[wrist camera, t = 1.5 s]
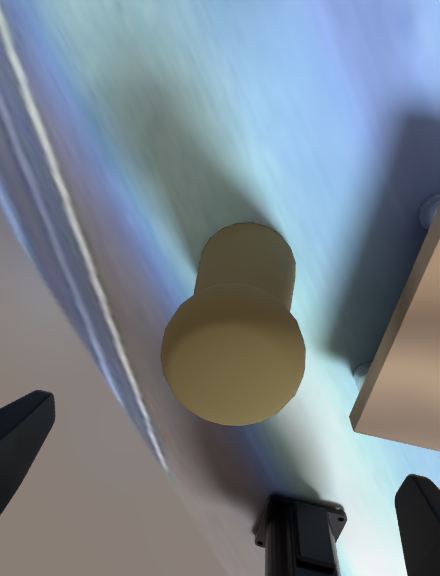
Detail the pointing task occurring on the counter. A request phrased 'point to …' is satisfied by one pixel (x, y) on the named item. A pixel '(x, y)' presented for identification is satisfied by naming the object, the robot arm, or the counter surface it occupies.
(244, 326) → the cork
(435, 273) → the shelf board
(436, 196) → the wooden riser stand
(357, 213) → the counter surface
